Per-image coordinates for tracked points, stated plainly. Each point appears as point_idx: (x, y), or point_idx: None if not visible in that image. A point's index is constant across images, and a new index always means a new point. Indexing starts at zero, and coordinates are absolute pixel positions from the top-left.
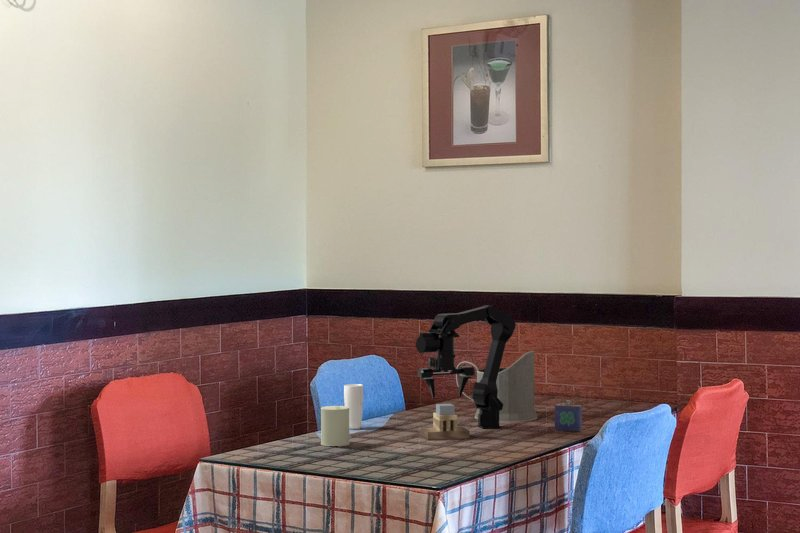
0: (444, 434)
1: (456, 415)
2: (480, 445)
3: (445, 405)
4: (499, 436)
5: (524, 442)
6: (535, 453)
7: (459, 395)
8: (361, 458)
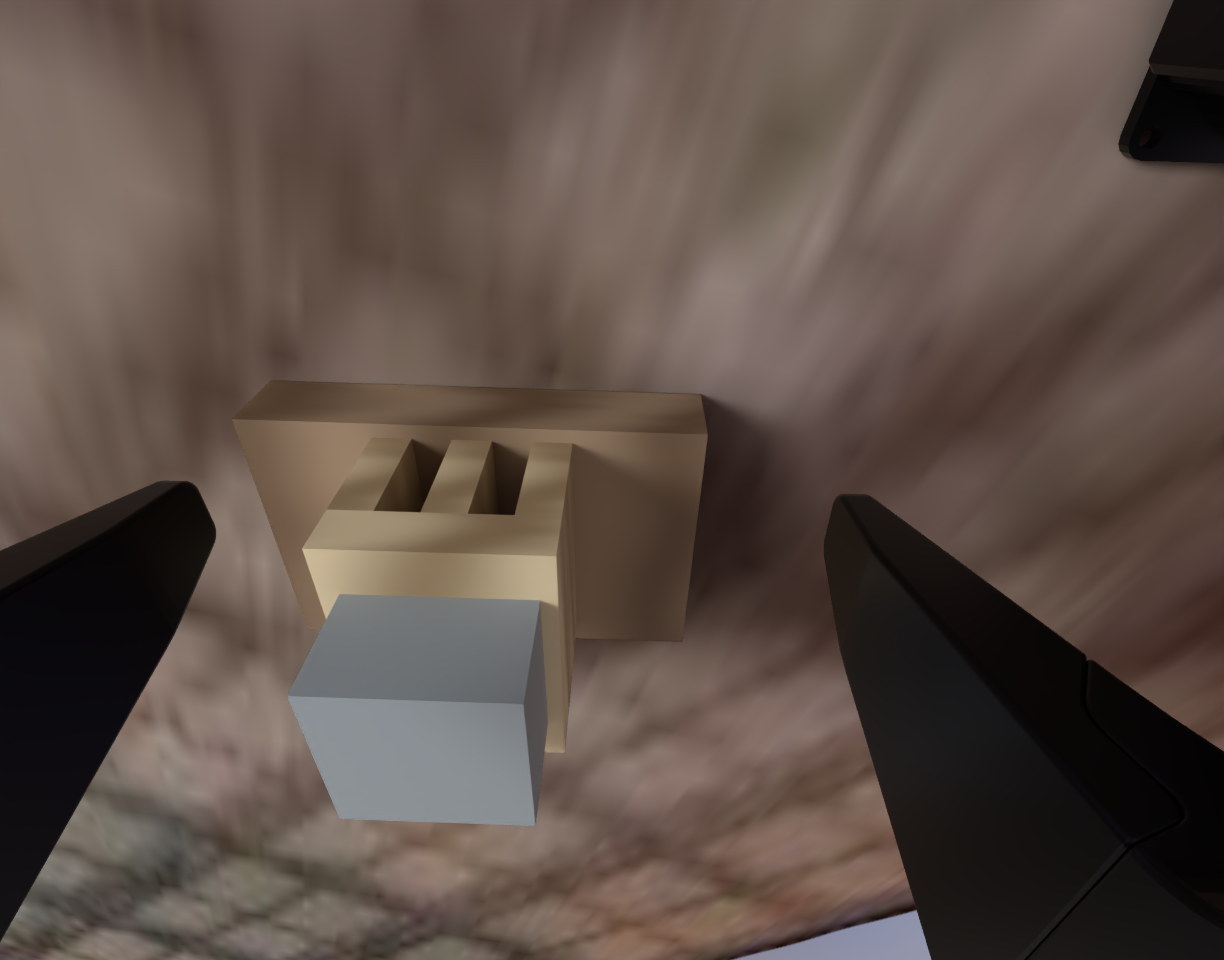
0: None
1: (555, 750)
2: (648, 776)
3: (418, 804)
4: None
5: None
6: (811, 923)
7: (829, 572)
8: None
